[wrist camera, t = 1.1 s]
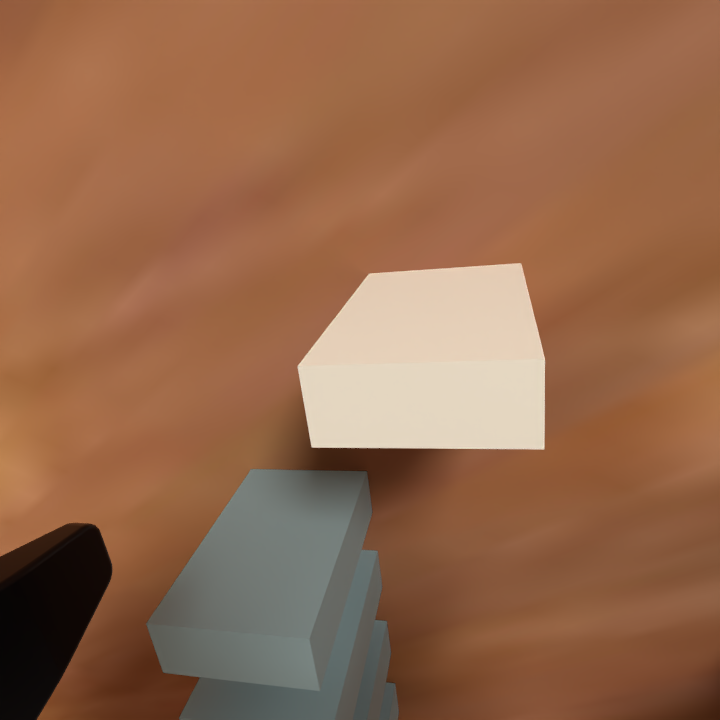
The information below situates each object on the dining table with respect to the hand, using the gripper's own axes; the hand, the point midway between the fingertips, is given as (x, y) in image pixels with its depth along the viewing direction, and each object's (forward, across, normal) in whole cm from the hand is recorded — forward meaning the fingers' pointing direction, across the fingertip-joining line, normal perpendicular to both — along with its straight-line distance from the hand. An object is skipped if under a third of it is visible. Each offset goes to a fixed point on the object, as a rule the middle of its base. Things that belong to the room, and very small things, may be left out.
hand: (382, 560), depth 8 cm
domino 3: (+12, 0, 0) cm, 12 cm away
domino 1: (+12, +6, +8) cm, 16 cm away
